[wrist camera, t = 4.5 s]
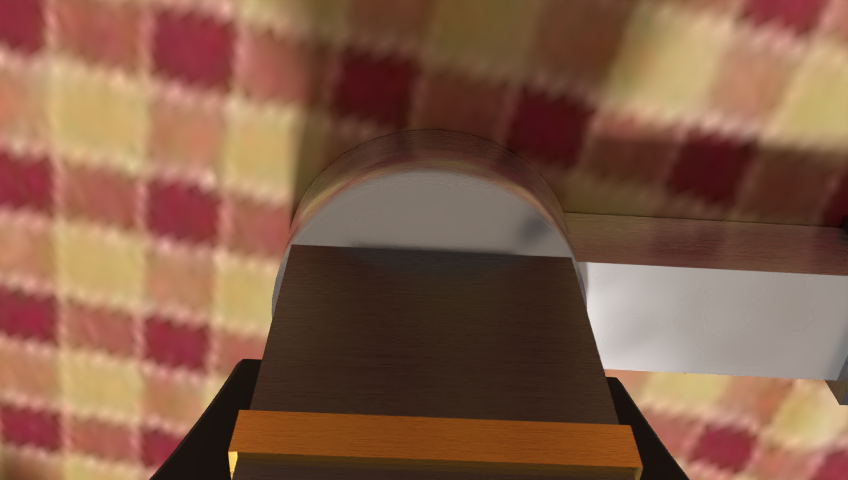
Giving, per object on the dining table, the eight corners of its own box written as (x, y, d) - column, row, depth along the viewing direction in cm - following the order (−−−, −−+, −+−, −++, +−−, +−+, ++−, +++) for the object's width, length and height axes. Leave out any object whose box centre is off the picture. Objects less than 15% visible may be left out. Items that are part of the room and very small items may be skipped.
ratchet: (1168, 171, 16) (1463, 349, 11) (1028, 394, 19) (1213, 602, 15) (284, 120, 15) (222, 285, 11) (293, 357, 19) (248, 560, 14)
